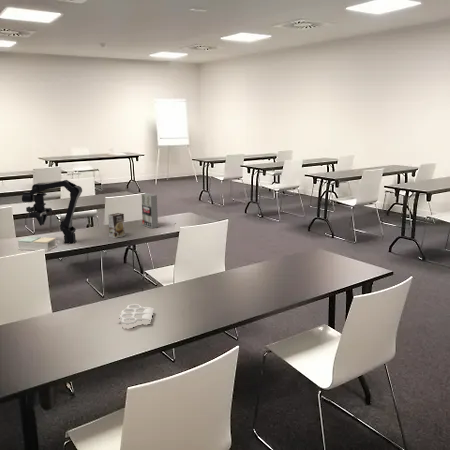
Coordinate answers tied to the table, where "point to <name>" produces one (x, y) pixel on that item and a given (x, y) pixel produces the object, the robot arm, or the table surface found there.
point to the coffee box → (116, 225)
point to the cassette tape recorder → (149, 210)
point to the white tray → (36, 246)
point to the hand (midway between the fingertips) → (41, 225)
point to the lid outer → (29, 239)
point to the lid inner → (44, 240)
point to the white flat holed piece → (145, 314)
